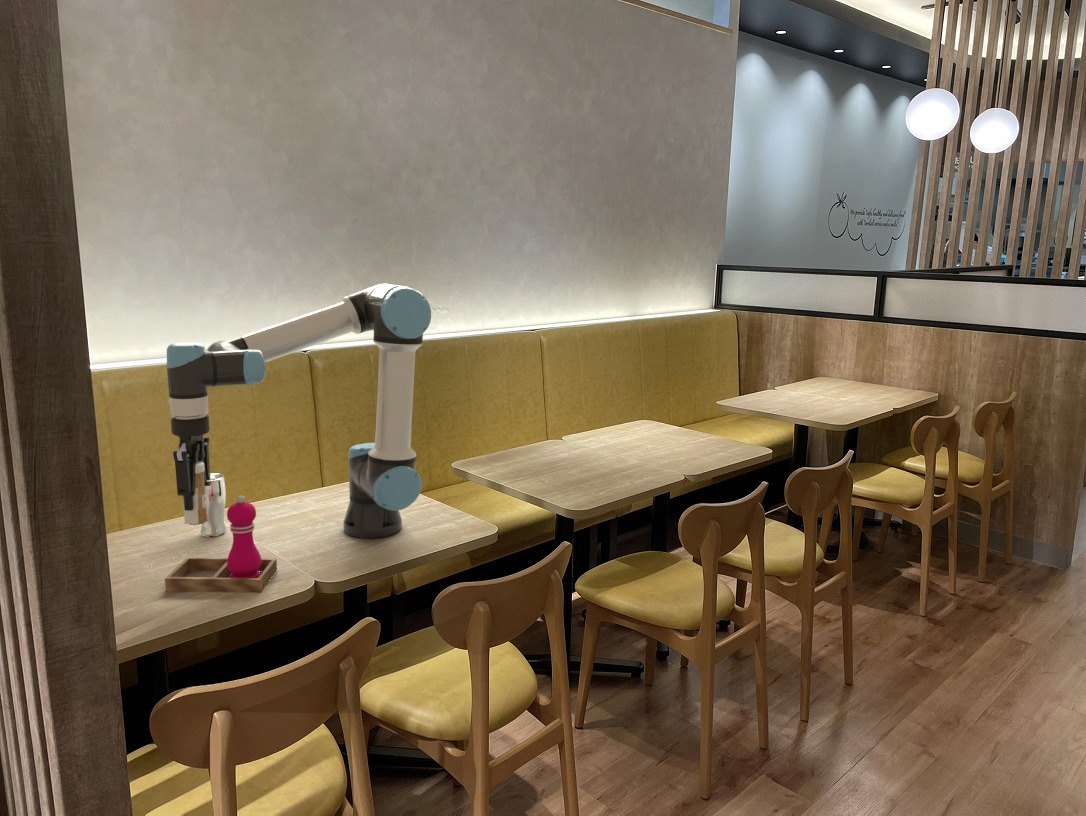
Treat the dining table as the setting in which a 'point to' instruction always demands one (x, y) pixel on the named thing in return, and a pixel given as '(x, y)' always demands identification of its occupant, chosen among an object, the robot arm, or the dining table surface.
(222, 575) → the caddy
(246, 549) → the pepper mill
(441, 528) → the dining table surface
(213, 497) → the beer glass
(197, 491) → the sprinkles bottle
